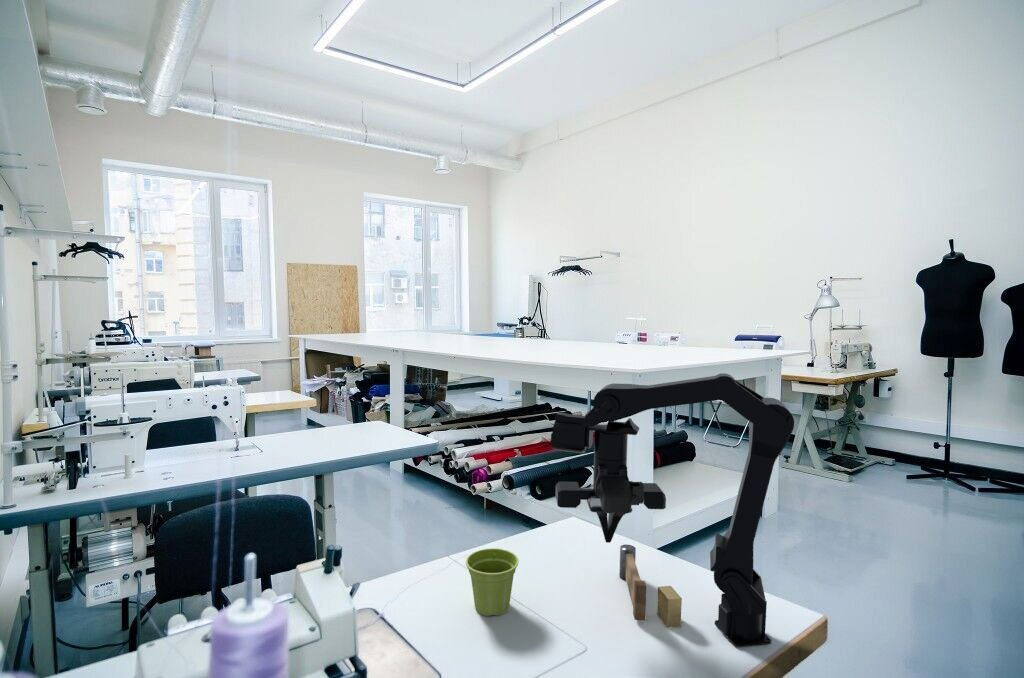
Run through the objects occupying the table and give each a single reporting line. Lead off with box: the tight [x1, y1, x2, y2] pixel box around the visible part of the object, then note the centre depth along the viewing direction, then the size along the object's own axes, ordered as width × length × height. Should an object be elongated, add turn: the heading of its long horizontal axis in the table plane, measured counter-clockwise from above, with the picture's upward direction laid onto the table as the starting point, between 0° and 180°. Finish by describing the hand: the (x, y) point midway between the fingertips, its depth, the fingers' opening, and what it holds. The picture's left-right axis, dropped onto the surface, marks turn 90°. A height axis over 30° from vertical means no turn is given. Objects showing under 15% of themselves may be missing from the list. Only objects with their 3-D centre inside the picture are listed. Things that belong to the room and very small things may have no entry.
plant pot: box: [465, 547, 520, 617], centre depth 94 cm, size 9×9×9 cm
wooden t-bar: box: [626, 554, 647, 621], centre depth 96 cm, size 14×2×6 cm, turn 176°
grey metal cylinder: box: [619, 544, 637, 581], centre depth 105 cm, size 3×3×6 cm
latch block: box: [656, 585, 683, 629], centre depth 91 cm, size 2×4×5 cm, turn 10°
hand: (607, 541), depth 95 cm, fingers closed
